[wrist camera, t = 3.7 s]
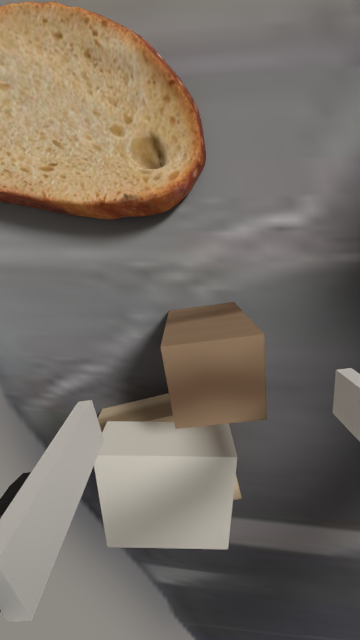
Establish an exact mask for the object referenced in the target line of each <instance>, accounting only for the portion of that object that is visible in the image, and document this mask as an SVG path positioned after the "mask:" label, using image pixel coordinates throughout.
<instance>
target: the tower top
mask: <svg viewBox="0 0 360 640" xmlns="http://www.w3.org/2000/svg"><path fill="white" fill-rule="evenodd" d="M102 435H103V438H104V441H103V443H102V446H101V449H100V451H99V454H98V456H97V459H96V461H95V464H94V469H95V475H96V481H97V487H98V493H99V499H100V505H101V512H102V518H103V524H104V530H105V536H106V542H107V547H129V548H181V549H228V544H229V534H230V524H231V514H232V504H233V494H234V484H235V474H236V464H237V454H236V450H235V447H234V443H233V439H232V435H231V431H230V427H229V423H228V424H218V425H208V426H199V427H189V428H179V429H175V423H174V422H133V421H107V423H106V425H105V428H104V430H103V432H102Z"/></svg>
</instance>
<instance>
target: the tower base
mask: <svg viewBox="0 0 360 640" xmlns="http://www.w3.org/2000/svg"><path fill="white" fill-rule="evenodd" d="M107 421H133V422H174V418H173V412H172V407H171V402H170V396H169V393H167V394H163V395H159V396H155V397H151V398H146V399H142V400H138V401H134V402H130V403H125V404H121V405H117V406H113V407H109V408H104V409H102V411H101V413H100V415H99V417H98V422H99V425H100V428H101V432H103V430H104V428H105V425H106V423H107ZM241 498H242V497H241V493H240V489H239V485H238V480H237V476H236V474H235V484H234V494H233V500H236V499H241Z"/></svg>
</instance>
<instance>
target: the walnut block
mask: <svg viewBox="0 0 360 640" xmlns="http://www.w3.org/2000/svg"><path fill="white" fill-rule="evenodd" d="M161 353H162V358H163V364H164V369H165V375H166V380H167V385H168V391H169V396H170V402H171V407H172V412H173V418H174V423H175V429H179V428H189V427H199V426H208V425H218V424H228V423H237V422H247V421H257V420H266V419H267V410H266V376H265V342H264V333H263V332H262V331H261V330H260V329H259V328H258V327H257V326H256V325H255V324H254V323H253V322H252V321H251V320H250V319H249V318H248V316H247V315H246V314H245V313H244V312H243V311H242V310H241V309H240V308H239V307H238V306H237V305H236V304H235V303H234V302H231V303H224V304H216V305H209V306H201V307H194V308H186V309H179V310H172V311H169V313H168V317H167V321H166V325H165V330H164V334H163V338H162V343H161Z"/></svg>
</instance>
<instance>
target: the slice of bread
mask: <svg viewBox="0 0 360 640" xmlns="http://www.w3.org/2000/svg"><path fill="white" fill-rule="evenodd" d="M205 160H206V151H205V144H204V136H203V130H202V124H201V119H200V115H199V111H198V108H197V106H196V104H195V102H194V100H193V99H192V97H191V95H190V93H189V92H188V90H187V88H186V87H185V85H184V84H183V82H182V81H181V80H180V78H179V77H178V76H177V75H176V73H175V72H174V71H173V70H172V69H171V67H170V66H169V65H168V64H167V63H166V62H165V60H164V59H163V58H162V57H161V56H160V55H159V54H158V53H157V51H156V50H155V49H154V48H153V47H152V46H151V45H150V44H149V43H148V42H147V41H146V40H145V39H144V38H143V37H141V36H140V35H138V34H137V33H135V32H133V31H132V30H130V29H128V28H126V27H124V26H122V25H120V24H118V23H116V22H114V21H112V20H110V19H107V18H105V17H103V16H101V15H99V14H96V13H93V12H90V11H87V10H85V9H82V8H79V7H69V6H65V5H62V4H60V3H58V2H47V3H36V2H22V3H18V4H12V3H10V4H8V5H4V6H1V7H0V202H4V203H13V204H18V205H23V206H28V207H33V208H38V209H43V210H48V211H53V212H57V213H62V214H68V215H75V216H83V217H93V218H99V219H119V218H121V217H139V216H148V215H155V214H159V213H163V212H166V211H168V210H170V209H171V208H172V207H174V206H175V205H177V204H178V203H179V202H180V201H181V200H182V199H183V198H184V197H185V196H186V195H187V194H188V193H189V192H190V191H191V189H192V187H193V186H194V184H195V182H196V180H197V179H198V177H199V175H200V173H201V172H202V170H203V168H204V165H205Z"/></svg>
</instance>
